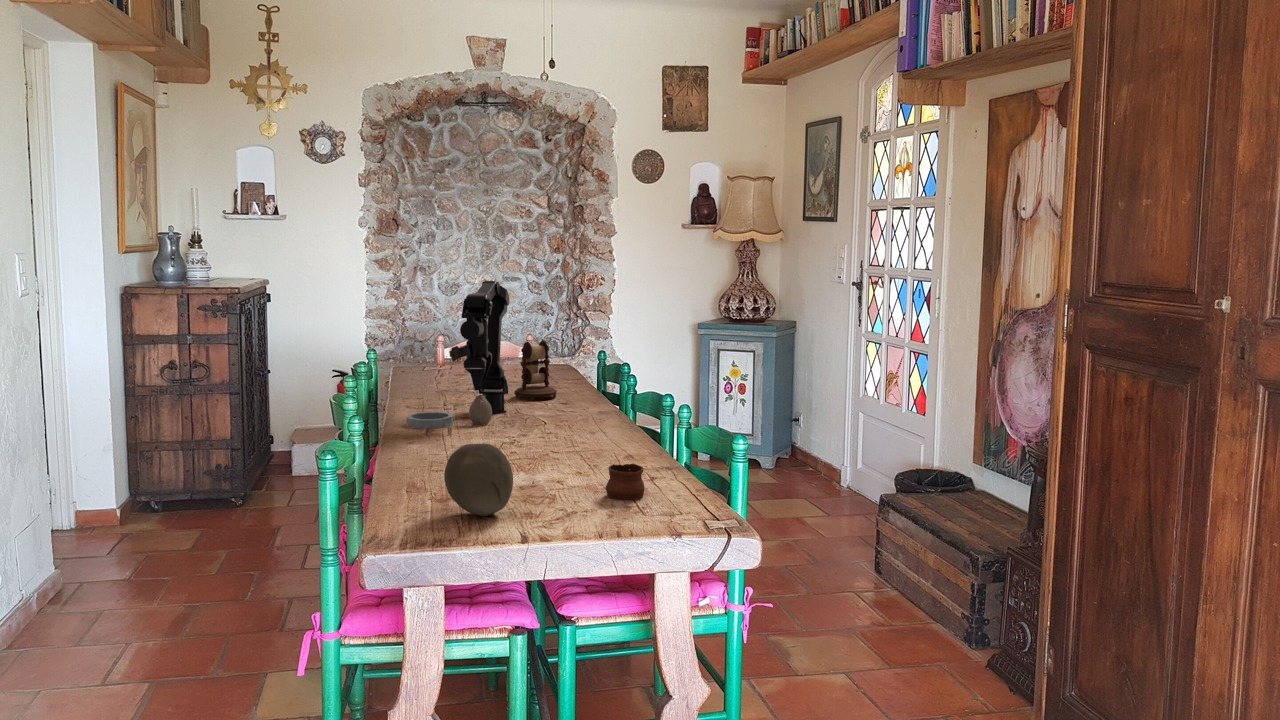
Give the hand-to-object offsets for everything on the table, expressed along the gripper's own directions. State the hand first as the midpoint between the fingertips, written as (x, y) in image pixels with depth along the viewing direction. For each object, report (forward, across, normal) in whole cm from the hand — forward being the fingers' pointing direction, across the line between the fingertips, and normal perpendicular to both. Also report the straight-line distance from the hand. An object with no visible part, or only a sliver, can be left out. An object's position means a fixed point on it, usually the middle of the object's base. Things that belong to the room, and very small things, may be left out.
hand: (478, 387), depth 309 cm
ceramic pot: (+12, +84, +44) cm, 96 cm away
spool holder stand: (+11, -49, +13) cm, 52 cm away
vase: (+11, 0, 0) cm, 11 cm away
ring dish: (+11, 0, -15) cm, 18 cm away
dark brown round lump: (+11, +100, +14) cm, 101 cm away
